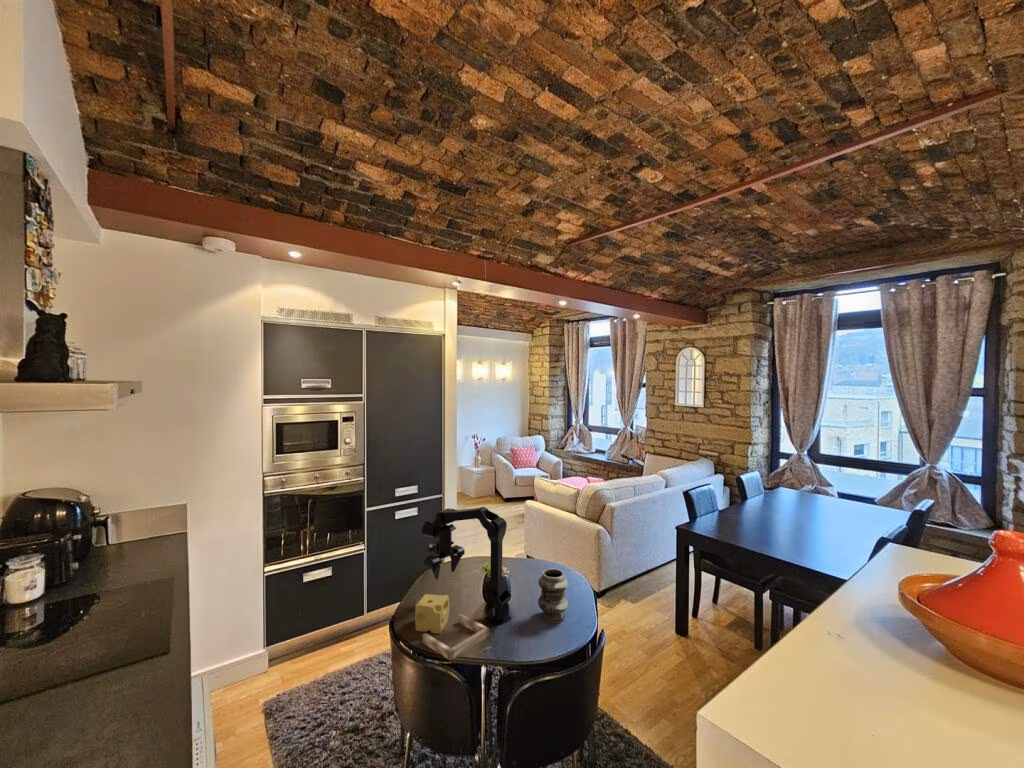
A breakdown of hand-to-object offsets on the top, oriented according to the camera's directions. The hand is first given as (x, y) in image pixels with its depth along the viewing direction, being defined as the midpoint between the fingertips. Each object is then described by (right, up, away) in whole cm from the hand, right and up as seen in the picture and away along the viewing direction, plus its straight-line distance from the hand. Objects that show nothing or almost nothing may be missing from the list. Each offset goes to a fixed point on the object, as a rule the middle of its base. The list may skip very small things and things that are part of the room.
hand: (444, 575), depth 187 cm
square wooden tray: (+8, -12, -25) cm, 29 cm away
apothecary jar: (+45, -12, -11) cm, 48 cm away
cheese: (-2, -12, -16) cm, 21 cm away
